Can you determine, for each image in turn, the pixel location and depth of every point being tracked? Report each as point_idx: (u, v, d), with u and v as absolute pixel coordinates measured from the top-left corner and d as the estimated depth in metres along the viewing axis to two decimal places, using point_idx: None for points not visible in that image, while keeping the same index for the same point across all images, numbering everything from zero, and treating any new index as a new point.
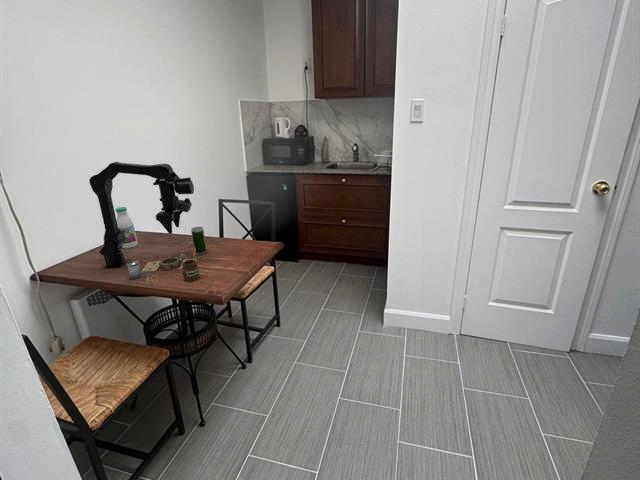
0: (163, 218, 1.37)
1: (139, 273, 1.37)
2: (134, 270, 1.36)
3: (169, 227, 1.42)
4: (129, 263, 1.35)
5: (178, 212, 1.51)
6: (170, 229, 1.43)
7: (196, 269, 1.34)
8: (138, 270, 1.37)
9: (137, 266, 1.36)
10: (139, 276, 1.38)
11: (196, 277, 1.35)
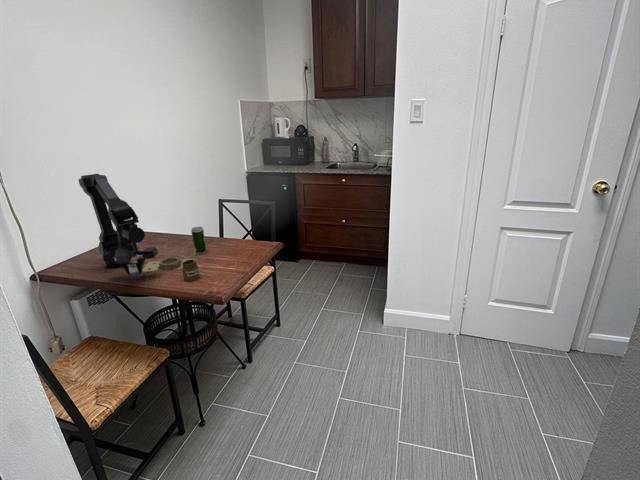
0: None
1: (139, 273, 1.37)
2: (134, 270, 1.36)
3: None
4: (129, 263, 1.35)
5: None
6: None
7: (196, 269, 1.34)
8: (138, 270, 1.37)
9: (137, 266, 1.36)
10: (139, 276, 1.38)
11: (196, 277, 1.35)
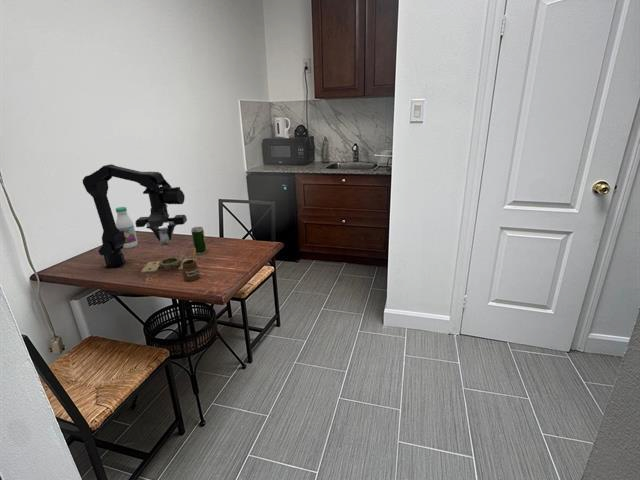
0: None
1: (169, 239, 1.43)
2: (164, 236, 1.41)
3: None
4: (160, 229, 1.41)
5: None
6: None
7: (196, 269, 1.34)
8: (168, 236, 1.43)
9: (167, 232, 1.42)
10: (169, 242, 1.43)
11: (196, 277, 1.35)
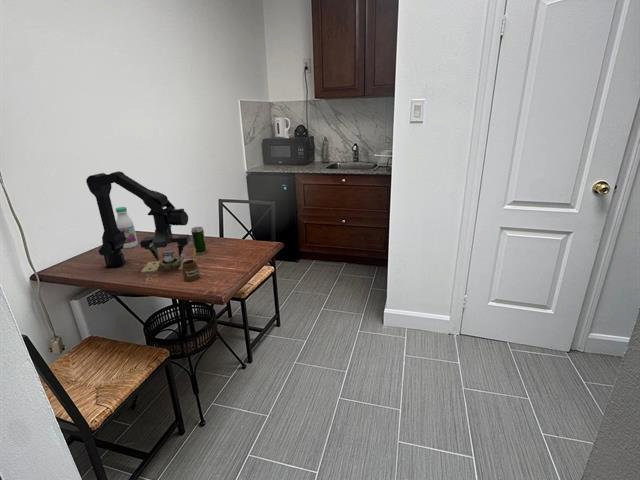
0: None
1: (173, 262, 1.47)
2: (169, 259, 1.45)
3: None
4: (164, 253, 1.45)
5: None
6: None
7: (196, 269, 1.34)
8: (172, 259, 1.46)
9: (172, 255, 1.46)
10: None
11: (196, 277, 1.35)
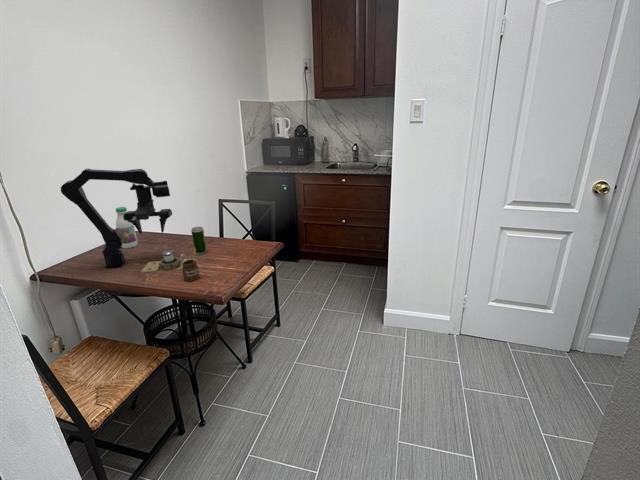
0: None
1: (173, 262, 1.47)
2: (169, 259, 1.45)
3: None
4: (164, 253, 1.45)
5: None
6: None
7: (196, 269, 1.34)
8: (172, 259, 1.46)
9: (172, 255, 1.46)
10: None
11: (196, 277, 1.35)
